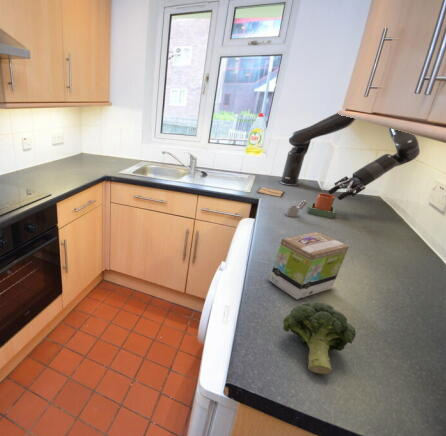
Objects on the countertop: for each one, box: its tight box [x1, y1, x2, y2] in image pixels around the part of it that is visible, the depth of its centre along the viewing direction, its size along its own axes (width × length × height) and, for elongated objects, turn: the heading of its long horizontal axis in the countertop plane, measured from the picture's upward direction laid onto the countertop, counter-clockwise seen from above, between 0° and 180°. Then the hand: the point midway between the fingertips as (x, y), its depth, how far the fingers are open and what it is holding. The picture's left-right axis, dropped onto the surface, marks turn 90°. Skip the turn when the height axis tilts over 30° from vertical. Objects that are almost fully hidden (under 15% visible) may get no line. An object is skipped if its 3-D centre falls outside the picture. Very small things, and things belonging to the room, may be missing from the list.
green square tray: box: [308, 202, 336, 219], centre depth 144 cm, size 10×10×3 cm
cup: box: [314, 192, 336, 211], centre depth 143 cm, size 7×7×9 cm
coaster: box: [257, 186, 284, 198], centre depth 173 cm, size 12×12×1 cm
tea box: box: [269, 231, 350, 300], centre depth 85 cm, size 15×10×15 cm, turn 114°
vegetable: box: [282, 301, 357, 375], centre depth 63 cm, size 12×13×15 cm
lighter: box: [286, 199, 308, 218], centre depth 138 cm, size 7×2×8 cm, turn 85°
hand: (333, 195), depth 140 cm, fingers open, 8 cm apart
